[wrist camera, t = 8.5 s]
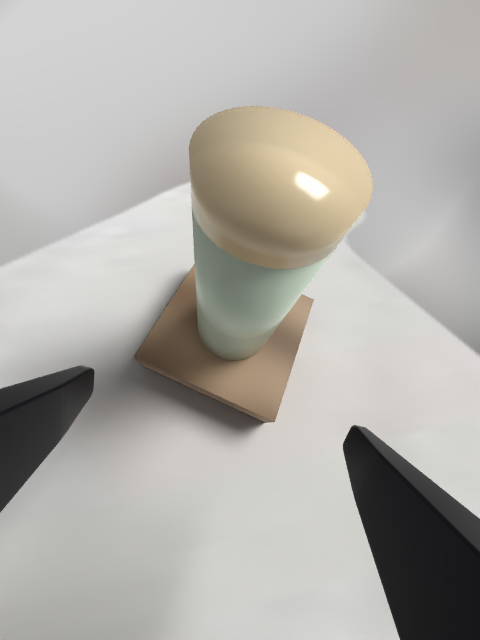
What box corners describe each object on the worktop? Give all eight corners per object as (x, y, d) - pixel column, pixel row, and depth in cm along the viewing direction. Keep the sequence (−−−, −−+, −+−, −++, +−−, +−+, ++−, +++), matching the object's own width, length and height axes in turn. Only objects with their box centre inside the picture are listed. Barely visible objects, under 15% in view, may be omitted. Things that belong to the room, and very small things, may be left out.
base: (265, 422, 17) (274, 421, 15) (142, 365, 18) (133, 356, 16) (301, 312, 22) (313, 299, 19) (202, 268, 22) (203, 250, 20)
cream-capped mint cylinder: (236, 376, 16) (306, 268, 5) (182, 325, 17) (146, 143, 6) (282, 326, 18) (401, 172, 7) (231, 283, 19) (270, 90, 8)
